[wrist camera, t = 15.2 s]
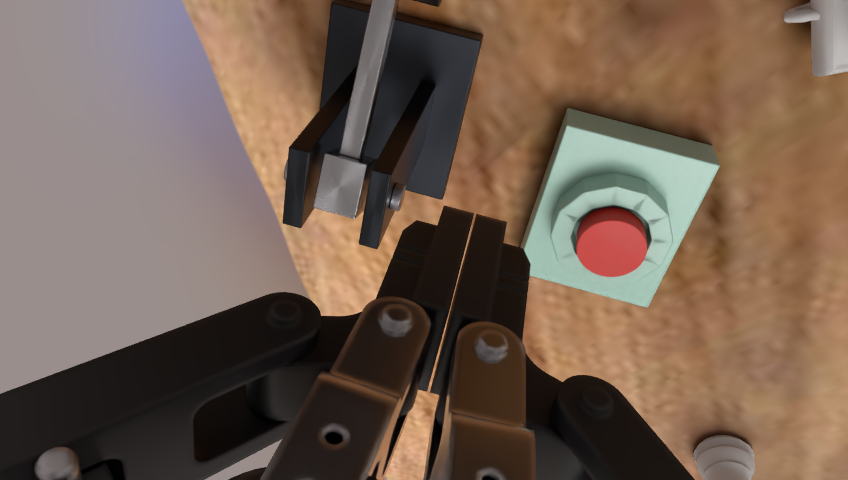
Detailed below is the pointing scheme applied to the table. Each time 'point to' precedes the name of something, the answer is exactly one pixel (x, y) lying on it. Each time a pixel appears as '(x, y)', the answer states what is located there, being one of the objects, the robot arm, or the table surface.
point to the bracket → (387, 114)
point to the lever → (359, 120)
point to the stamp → (825, 33)
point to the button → (611, 242)
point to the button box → (616, 199)
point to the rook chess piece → (724, 459)
